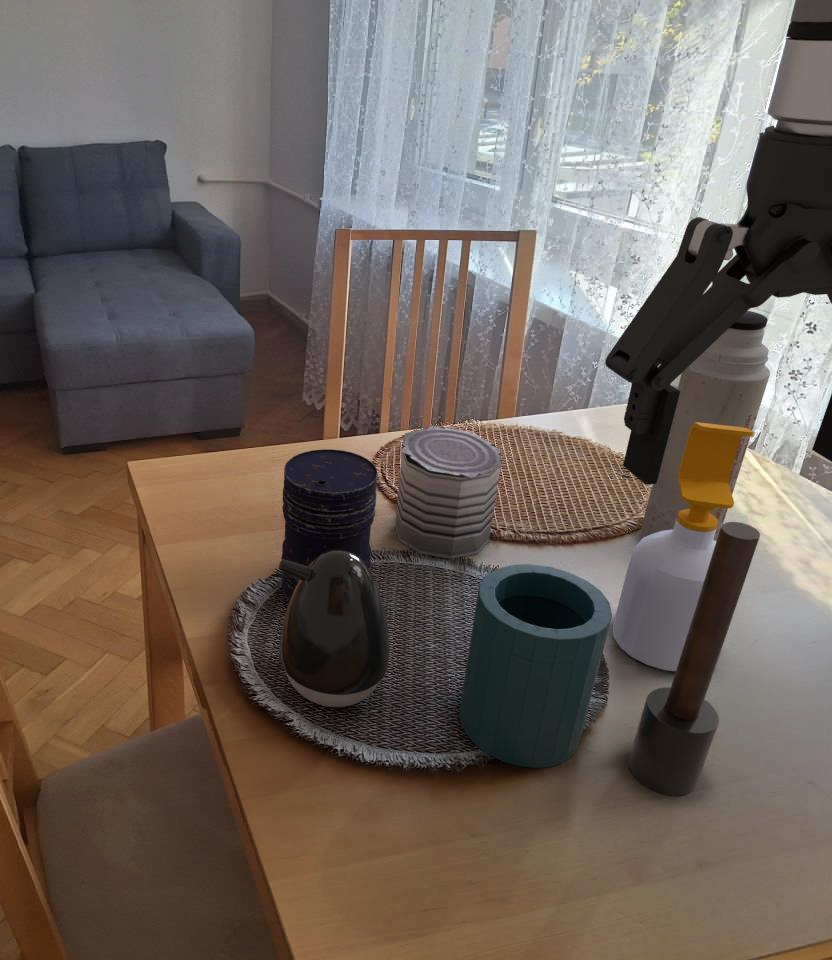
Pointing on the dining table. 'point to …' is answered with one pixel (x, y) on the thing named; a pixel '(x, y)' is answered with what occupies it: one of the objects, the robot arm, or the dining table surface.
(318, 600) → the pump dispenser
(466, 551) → the can
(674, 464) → the thermos bottle
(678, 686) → the round mallet
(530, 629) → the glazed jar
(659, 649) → the soap bottle
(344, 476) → the storage jar
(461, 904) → the dining table surface
